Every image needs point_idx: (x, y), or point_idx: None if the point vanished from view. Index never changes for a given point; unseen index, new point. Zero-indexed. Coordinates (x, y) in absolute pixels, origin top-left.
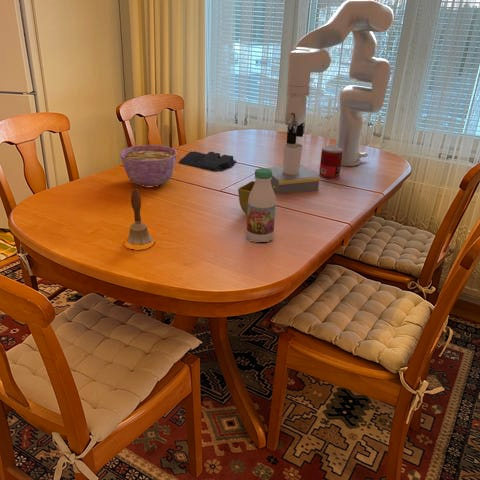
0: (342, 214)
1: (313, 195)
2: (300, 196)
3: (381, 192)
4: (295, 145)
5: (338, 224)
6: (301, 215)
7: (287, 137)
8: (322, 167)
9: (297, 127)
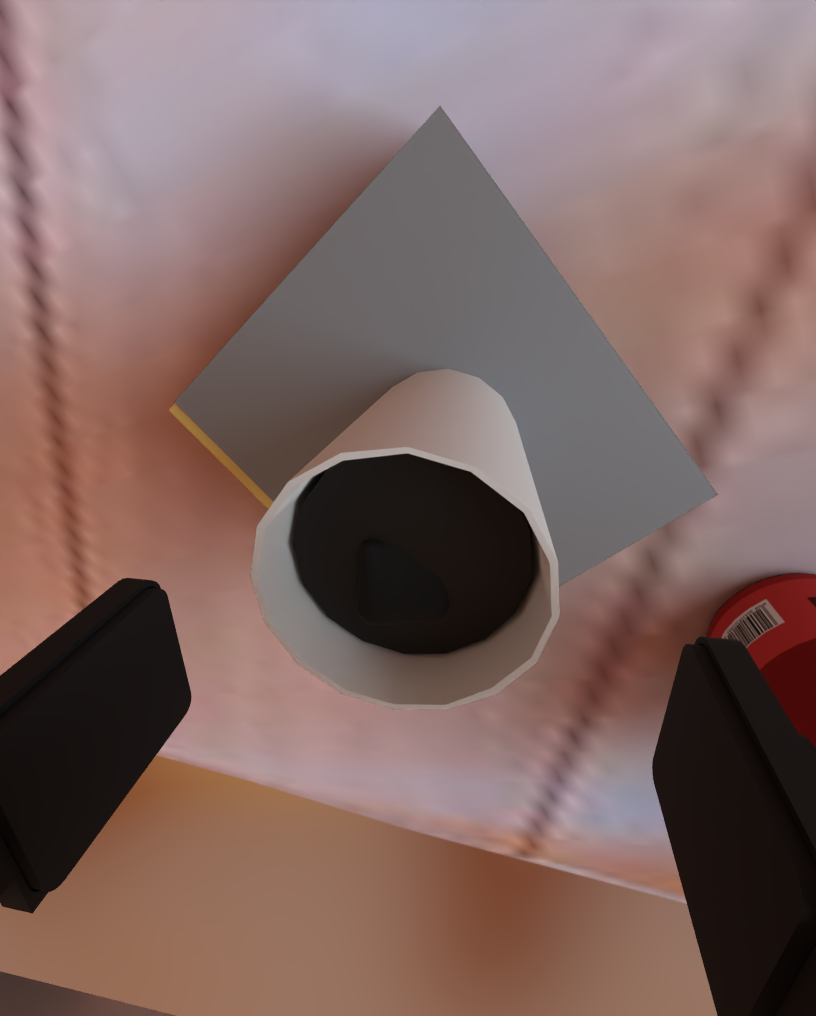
0: None
1: None
2: None
3: (540, 855)
4: (542, 586)
5: None
6: (42, 570)
7: (45, 654)
8: (767, 639)
9: (755, 900)
